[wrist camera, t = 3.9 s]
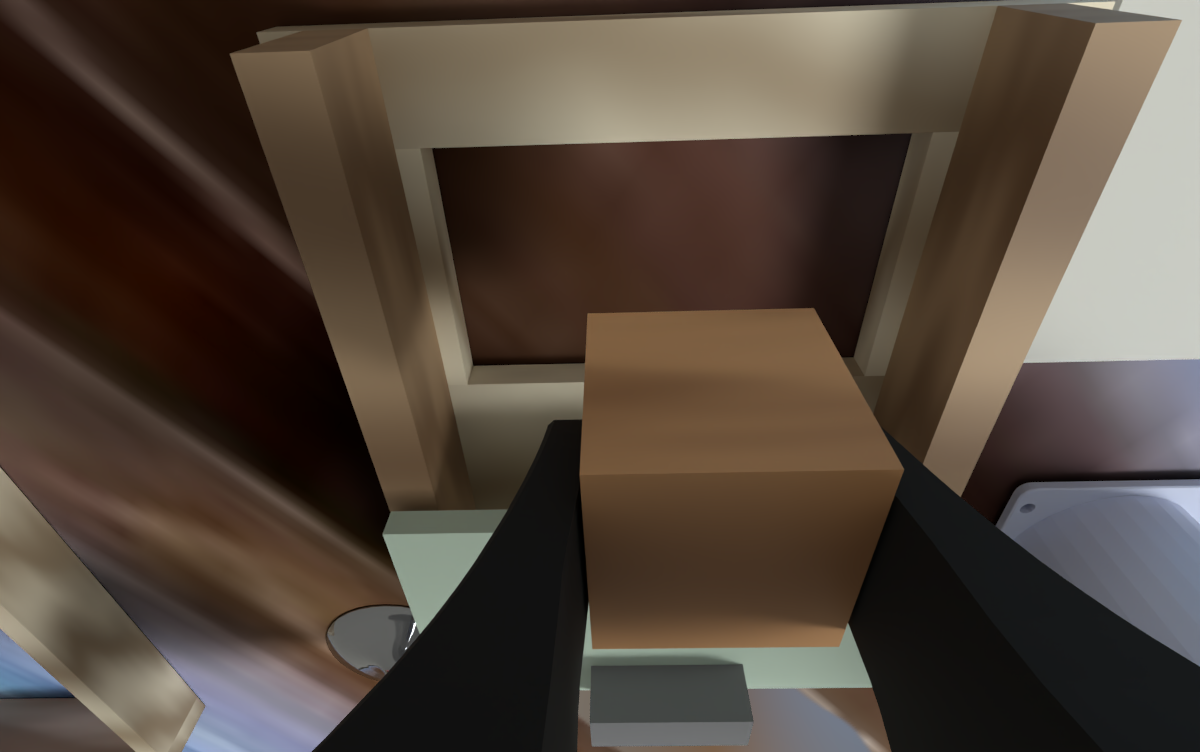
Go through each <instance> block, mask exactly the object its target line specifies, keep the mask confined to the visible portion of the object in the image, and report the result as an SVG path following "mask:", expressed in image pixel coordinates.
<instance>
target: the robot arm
mask: <svg viewBox="0 0 1200 752" xmlns="http://www.w3.org/2000/svg"><path fill="white" fill-rule="evenodd" d="M880 427H881V426H880ZM881 429H882V431H883V432H884V434H885V436H886V438H887V440H888V441H889V443H890V445H891V447H892V448H893V450H894V452H895V454H896V456H897V457H898V459H899V461H900V463H901V465H902V466H903V468H904V472H903V474H902V477H901V480H900V482H899V485H898V488H897V491H896V493H895V496H894V499H893V502H892V504H891V507H890V510H889V512H888V515H887V518H886V521H885V523H884V526H883V529H882V532H881V534H880V537H879V540H878V542H877V545H876V548H875V551H874V553H873V556H872V559H871V561H870V564H869V567H868V570H867V572H866V575H865V578H864V581H863V583H862V586H861V589H860V591H859V594H858V597H857V600H856V602H855V605H854V608H853V611H852V613H851V616H850V619H849V621H848V624H849V627H850V629H851V632H852V635H853V637H854V640H855V642H856V645H857V648H858V650H859V653H860V655H861V658H862V661H863V663H864V666H865V668H866V671H867V674H868V676H869V679H870V682H871V685H872V688H873V691H874V693H875V696H876V699H877V702H878V705H879V708H880V712H881V715H882V719H883V722H884V726H885V730H886V733H887V737H888V740H889V744H890V748H891V751H892V752H1200V479H1190V480H1132V481H1075V482H1030V483H1025V484H1022V485H1020V486H1019V487H1017V488H1016V489H1015V491H1014V492H1013V494H1012V496H1011V498H1010V500H1009V502H1008V503H1007V505H1006V507H1005V509H1004V511H1003V513H1002V515H1001V516H1000V518H999V520H998V522H997V524H996V526H995V525H994V524H992V523H991V522H990V521H989V520H987V519H986V518H985V517H984V516H982V515H981V514H980V513H979V512H978V511H976V510H975V509H974V508H973V507H972V506H970V505H969V504H968V503H967V502H966V501H964V500H963V499H962V498H961V497H960V496H959V495H957V494H956V493H955V492H954V491H953V490H952V489H950V488H949V487H948V486H947V485H946V484H945V483H944V482H942V481H941V480H940V479H939V478H938V477H937V476H936V475H934V474H933V473H932V472H931V471H930V470H929V469H928V468H927V467H925V466H924V465H923V464H922V463H921V462H920V461H919V460H918V459H916V458H915V457H914V456H913V455H912V454H911V453H910V452H909V451H908V450H906V449H905V448H904V447H903V446H902V445H901V444H900V443H899V442H898V441H896V440H895V439H894V438H893V437H892V436H891V435H890V434H889V433H888V432H886V431H885V430H884V429H883V428H882V427H881ZM581 436H582V419H575V420H553V421H552V422H551V423H550V424H549V425H548V427H547V430H546V432H545V435H544V438H543V440H542V443H541V445H540V448H539V450H538V452H537V454H536V456H535V459H534V461H533V463H532V465H531V467H530V469H529V471H528V473H527V475H526V477H525V479H524V481H523V483H522V484H521V486H520V488H519V490H518V492H517V493H516V495H515V497H514V499H513V501H512V502H511V504H510V506H509V508H508V510H507V512H506V513H505V515H504V517H503V518H502V520H501V522H500V523H499V525H498V526H497V528H496V529H495V531H494V533H493V534H492V536H491V537H490V539H489V540H488V542H487V544H486V545H485V547H484V548H483V550H482V551H481V553H480V555H479V556H478V558H477V559H476V561H475V562H474V564H473V565H472V566H471V568H470V569H469V571H468V572H467V574H466V575H465V576H464V578H463V579H462V581H461V582H460V583H459V585H458V586H457V588H456V589H455V590H454V592H453V593H452V594H451V596H450V597H449V598H448V600H447V601H446V602H445V603H444V605H443V606H442V607H441V609H440V610H439V611H438V613H437V614H436V615H435V617H434V618H433V619H432V620H431V621H430V623H429V624H428V625H427V626H426V627H425V629H424V630H423V631H422V632H421V634H420V635H419V636H418V637H417V638H416V640H415V641H414V642H413V643H412V644H411V646H410V647H409V648H408V649H407V651H406V652H405V653H404V654H403V655H402V656H401V658H400V659H399V660H398V661H397V662H396V663H395V664H394V666H393V667H392V668H391V669H390V670H389V671H388V672H387V674H386V675H385V676H384V677H383V678H382V679H381V680H380V681H379V682H378V683H377V684H376V686H375V687H374V688H373V689H372V690H371V691H370V692H369V693H368V694H367V695H366V696H365V697H364V698H363V699H362V700H361V701H360V702H359V703H358V704H357V705H356V707H355V708H354V709H353V710H352V711H351V712H350V713H349V714H348V715H347V716H346V717H345V718H344V719H343V720H342V721H341V722H340V723H339V724H338V725H337V727H336V728H335V729H334V730H333V731H332V732H331V733H330V734H329V735H328V736H327V737H326V738H325V739H324V740H323V741H322V742H321V743H320V744H319V745H318V746H317V747H316V748H315V749H314V750H313V751H312V752H577V734H578V704H579V691H580V678H581V669H582V660H583V651H584V642H585V633H586V624H587V614H588V605H589V597H588V583H587V570H586V556H585V542H584V529H583V515H582V502H581V488H580V456H581Z"/></svg>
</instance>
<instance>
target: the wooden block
mask: <svg viewBox="0 0 1200 752" xmlns="http://www.w3.org/2000/svg"><path fill="white" fill-rule="evenodd" d="M903 472H904V468H903V466H902V465H901V463H900V461H899V459H898V457H897V456H896V454H895V452H894V450H893V448H892V447H891V445H890V443H889V441H888V440H887V438H886V436H885V434H884V432H883V431H882V429H881V427H880V425H879V423H878V422H877V420H876V418H875V416H874V415H873V413H872V411H871V409H870V407H869V406H868V404H867V402H866V400H865V399H864V397H863V395H862V393H861V391H860V390H859V388H858V386H857V384H856V382H855V381H854V379H853V377H852V375H851V374H850V372H849V370H848V368H847V366H846V365H845V363H844V361H843V359H842V357H841V356H840V354H839V352H838V350H837V349H836V347H835V345H834V343H833V341H832V340H831V338H830V336H829V334H828V332H827V331H826V329H825V327H824V325H823V324H822V322H821V320H820V318H819V316H818V315H817V313H816V311H815V309H814V308H795V309H753V310H712V311H670V312H629V313H588V316H587V336H586V356H585V376H584V396H583V416H582V436H581V456H580V488H581V502H582V515H583V529H584V542H585V556H586V570H587V583H588V597H589V610H590V624H591V638H592V649H666V648H770V647H839V646H840V643H841V641H842V638H843V635H844V632H845V630H846V627H847V624H848V621H849V619H850V616H851V613H852V611H853V608H854V605H855V602H856V600H857V597H858V594H859V591H860V589H861V586H862V583H863V581H864V578H865V575H866V572H867V570H868V567H869V564H870V561H871V559H872V556H873V553H874V551H875V548H876V545H877V542H878V540H879V537H880V534H881V532H882V529H883V526H884V523H885V521H886V518H887V515H888V512H889V510H890V507H891V504H892V502H893V499H894V496H895V493H896V491H897V488H898V485H899V482H900V480H901V477H902V474H903Z"/></svg>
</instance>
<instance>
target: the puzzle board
mask: <svg viewBox="0 0 1200 752" xmlns="http://www.w3.org/2000/svg"><path fill="white" fill-rule="evenodd" d="M1115 2H1116V1H1109V0H1000V1H972V2H944V3H917V4H889V5H862V6H834V7H806V8H779V9H751V10H724V11H696V12H668V13H641V14H613V15H586V16H558V17H531V18H503V19H475V20H448V21H420V22H393V23H365V24H337V25H310V26H282V27H274V28H270V29H267V30H263V31H260V32H256V33H257V36H258V39H259V42H260V44H259V45H255V46H252V47H249V48H246V49H243V50H239V51H236V52H233V53H230V56H231V59H232V62H233V65H234V68H235V71H236V74H237V76H238V79H239V82H240V85H241V88H242V91H243V94H244V96H245V99H246V102H247V105H248V108H249V111H250V113H251V116H252V119H253V122H254V125H255V128H256V131H257V133H258V136H259V139H260V142H261V145H262V148H263V151H264V153H265V156H266V159H267V162H268V165H269V168H270V171H271V173H272V176H273V179H274V182H275V185H276V188H277V191H278V193H279V196H280V199H281V202H282V205H283V208H284V210H285V213H286V216H287V219H288V222H289V225H290V228H291V230H292V233H293V236H294V239H295V242H296V245H297V248H298V250H299V253H300V256H301V259H302V262H303V265H304V268H305V270H306V273H307V276H308V279H309V282H310V285H311V288H312V290H313V293H314V296H315V299H316V302H317V305H318V307H319V310H320V313H321V316H322V319H323V322H324V325H325V327H326V330H327V333H328V336H329V339H330V342H331V345H332V347H333V350H334V353H335V356H336V359H337V362H338V365H339V367H340V370H341V373H342V376H343V379H344V382H345V385H346V387H347V390H348V393H349V396H350V399H351V402H352V404H353V407H354V410H355V413H356V416H357V419H358V422H359V424H360V427H361V430H362V433H363V436H364V439H365V442H366V444H367V447H368V450H369V453H370V456H371V459H372V462H373V464H374V467H375V470H376V473H377V476H378V479H379V482H380V484H381V487H382V490H383V493H384V496H385V499H386V501H387V504H388V507H389V510H390V513H391V511H444V510H504V509H508V508H509V506H510V504H511V502H512V501H513V499H514V497H515V495H516V493H517V492H518V490H519V488H520V486H521V484H522V483H523V481H524V479H525V477H526V475H527V473H528V471H529V469H530V467H531V465H532V463H533V461H534V459H535V456H536V454H537V452H538V450H539V448H540V445H541V443H542V440H543V438H544V435H545V432H546V430H547V427H548V425H549V424H550V423H551V422H552V421H553V420H575V419H582V416H583V396H584V376H585V363H578V364H533V365H488V366H473V361H472V356H471V351H470V346H469V340H468V335H467V330H466V325H465V319H464V314H463V309H462V304H461V298H460V293H459V288H458V283H457V277H456V272H455V267H454V262H453V256H452V251H451V246H450V240H449V235H448V230H447V225H446V219H445V214H444V209H443V204H442V198H441V193H440V188H439V183H438V177H437V172H436V167H435V162H434V156H433V151H432V148H453V147H485V146H517V145H549V144H581V143H613V142H645V141H677V140H710V139H742V138H774V137H806V136H838V135H870V134H902V133H912V136H911V140H910V143H909V147H908V151H907V155H906V159H905V163H904V166H903V170H902V174H901V178H900V182H899V186H898V189H897V193H896V197H895V201H894V205H893V208H892V212H891V216H890V220H889V224H888V228H887V231H886V235H885V239H884V243H883V247H882V251H881V254H880V258H879V262H878V266H877V270H876V274H875V277H874V281H873V285H872V289H871V293H870V297H869V300H868V304H867V308H866V312H865V316H864V320H863V323H862V327H861V331H860V335H859V339H858V342H857V346H856V350H855V354H854V357H845V358H842V359H843V361H844V363H845V365H846V366H847V368H848V370H849V372H850V374H851V375H852V377H853V379H854V381H855V382H856V384H857V386H858V388H859V390H860V391H861V393H862V395H863V397H864V399H865V400H866V402H867V404H868V406H869V407H870V409H871V411H872V413H873V415H874V416H875V418H876V420H877V422H878V423H879V425H880V426H881V427H882V428H883V429H884V430H885V431H886V432H888V433H889V434H890V435H891V436H892V437H893V438H894V439H895V440H896V441H898V442H899V443H900V444H901V445H902V446H903V447H904V448H905V449H906V450H908V451H909V452H910V453H911V454H912V455H913V456H914V457H915V458H916V459H918V460H919V461H920V462H921V463H922V464H923V465H924V466H925V467H927V468H928V469H929V470H930V471H931V472H932V473H933V474H934V475H936V476H937V477H938V478H939V479H940V480H941V481H942V482H944V483H945V484H946V485H947V486H948V487H949V488H950V489H952V490H953V491H954V492H955V493H956V494H957V495H959V496H960V497H961V495H962V493H963V491H964V489H965V487H966V485H967V482H968V480H969V478H970V476H971V474H972V472H973V469H974V467H975V465H976V463H977V461H978V459H979V457H980V454H981V452H982V450H983V448H984V446H985V444H986V441H987V439H988V437H989V435H990V433H991V431H992V429H993V426H994V424H995V422H996V420H997V418H998V416H999V413H1000V411H1001V409H1002V407H1003V405H1004V403H1005V401H1006V398H1007V396H1008V394H1009V392H1010V390H1011V388H1012V386H1013V383H1014V381H1015V379H1016V377H1017V375H1018V373H1019V370H1020V368H1021V366H1022V364H1023V362H1024V360H1025V358H1026V355H1027V353H1028V351H1029V349H1030V347H1031V345H1032V342H1033V340H1034V338H1035V336H1036V334H1037V332H1038V330H1039V327H1040V325H1041V323H1042V321H1043V319H1044V317H1045V314H1046V312H1047V310H1048V308H1049V306H1050V304H1051V302H1052V299H1053V297H1054V295H1055V293H1056V291H1057V289H1058V286H1059V284H1060V282H1061V280H1062V278H1063V276H1064V274H1065V271H1066V269H1067V267H1068V265H1069V263H1070V261H1071V258H1072V256H1073V254H1074V252H1075V250H1076V248H1077V246H1078V243H1079V241H1080V239H1081V237H1082V235H1083V233H1084V230H1085V228H1086V226H1087V224H1088V222H1089V220H1090V218H1091V215H1092V213H1093V211H1094V209H1095V207H1096V205H1097V202H1098V200H1099V198H1100V196H1101V194H1102V192H1103V190H1104V187H1105V185H1106V183H1107V181H1108V179H1109V177H1110V174H1111V172H1112V170H1113V168H1114V166H1115V164H1116V162H1117V159H1118V157H1119V155H1120V153H1121V151H1122V149H1123V146H1124V144H1125V142H1126V140H1127V138H1128V136H1129V134H1130V131H1131V129H1132V127H1133V125H1134V123H1135V121H1136V119H1137V116H1138V114H1139V112H1140V110H1141V108H1142V106H1143V103H1144V101H1145V99H1146V97H1147V95H1148V93H1149V91H1150V88H1151V86H1152V84H1153V82H1154V80H1155V78H1156V75H1157V73H1158V71H1159V69H1160V67H1161V65H1162V63H1163V60H1164V58H1165V56H1166V54H1167V52H1168V50H1169V47H1170V45H1171V43H1172V41H1173V39H1174V37H1175V35H1176V32H1177V30H1178V28H1179V26H1180V24H1181V22H1182V20H1178V19H1171V18H1165V17H1158V16H1151V15H1144V14H1137V13H1130V12H1123V11H1117V10H1112V9H1113V7H1114V4H1115Z"/></svg>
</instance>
